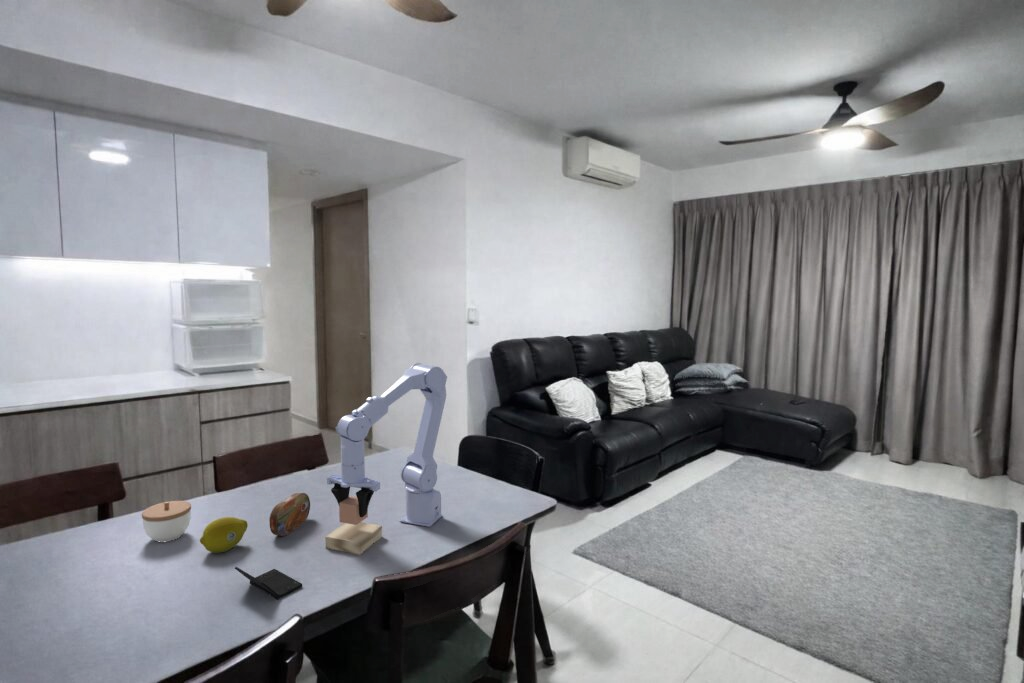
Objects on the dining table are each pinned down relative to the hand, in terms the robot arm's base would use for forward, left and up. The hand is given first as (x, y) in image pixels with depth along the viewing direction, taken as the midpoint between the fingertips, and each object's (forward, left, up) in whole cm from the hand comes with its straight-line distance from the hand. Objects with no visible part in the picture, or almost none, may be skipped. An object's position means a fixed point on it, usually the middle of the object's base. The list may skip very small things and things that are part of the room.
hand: (353, 514), depth 135 cm
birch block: (0, 0, -8) cm, 8 cm away
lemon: (+28, +14, -8) cm, 32 cm away
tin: (+21, -1, -8) cm, 22 cm away
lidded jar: (+47, +14, -8) cm, 50 cm away
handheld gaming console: (+5, +24, -8) cm, 26 cm away
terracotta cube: (0, 0, -1) cm, 1 cm away
